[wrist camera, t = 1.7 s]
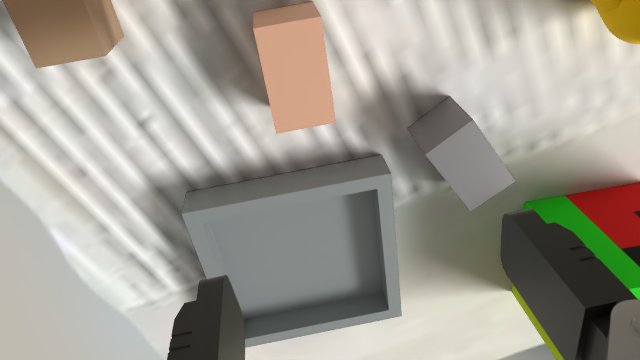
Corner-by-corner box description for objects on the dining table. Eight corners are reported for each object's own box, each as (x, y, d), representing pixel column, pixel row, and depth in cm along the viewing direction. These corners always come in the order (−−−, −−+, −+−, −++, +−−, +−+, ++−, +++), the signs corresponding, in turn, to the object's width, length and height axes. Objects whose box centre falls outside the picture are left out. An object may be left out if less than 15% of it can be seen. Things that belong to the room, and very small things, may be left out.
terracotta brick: (253, 11, 27) (253, 28, 23) (312, 1, 27) (320, 16, 23) (273, 106, 30) (276, 133, 26) (326, 96, 30) (335, 122, 27)
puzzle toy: (615, 271, 42) (706, 364, 34) (511, 290, 42) (576, 389, 33) (643, 181, 37) (759, 265, 29) (524, 201, 37) (605, 293, 28)
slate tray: (186, 192, 32) (181, 213, 30) (381, 154, 33) (391, 173, 30) (235, 324, 40) (234, 349, 37) (393, 293, 40) (401, 316, 38)
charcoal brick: (406, 127, 32) (425, 154, 28) (449, 95, 31) (473, 119, 28) (449, 180, 35) (470, 211, 31) (489, 152, 34) (515, 181, 30)
